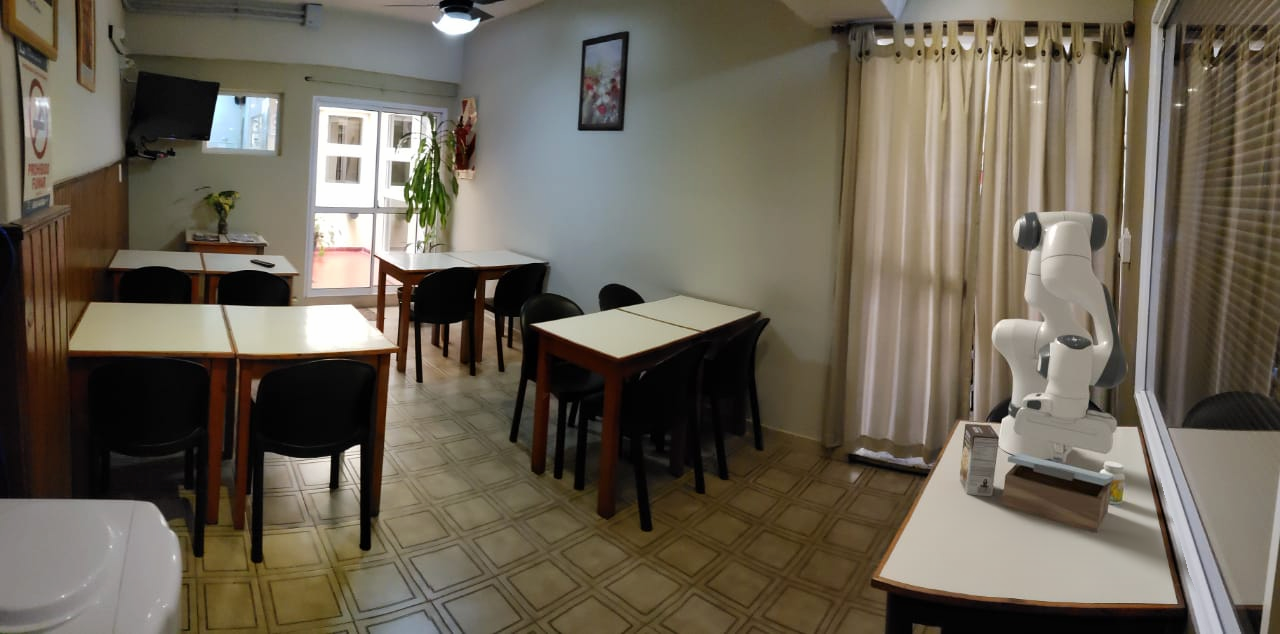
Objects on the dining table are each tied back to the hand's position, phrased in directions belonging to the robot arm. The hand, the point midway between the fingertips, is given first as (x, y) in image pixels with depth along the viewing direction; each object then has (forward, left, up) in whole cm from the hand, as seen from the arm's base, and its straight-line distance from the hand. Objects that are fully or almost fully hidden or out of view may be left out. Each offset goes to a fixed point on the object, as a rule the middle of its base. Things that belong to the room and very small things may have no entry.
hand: (1058, 460), depth 169 cm
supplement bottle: (-18, +9, -14) cm, 24 cm away
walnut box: (-3, 0, -13) cm, 14 cm away
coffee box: (-2, -18, -14) cm, 23 cm away
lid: (-2, 0, -4) cm, 5 cm away
